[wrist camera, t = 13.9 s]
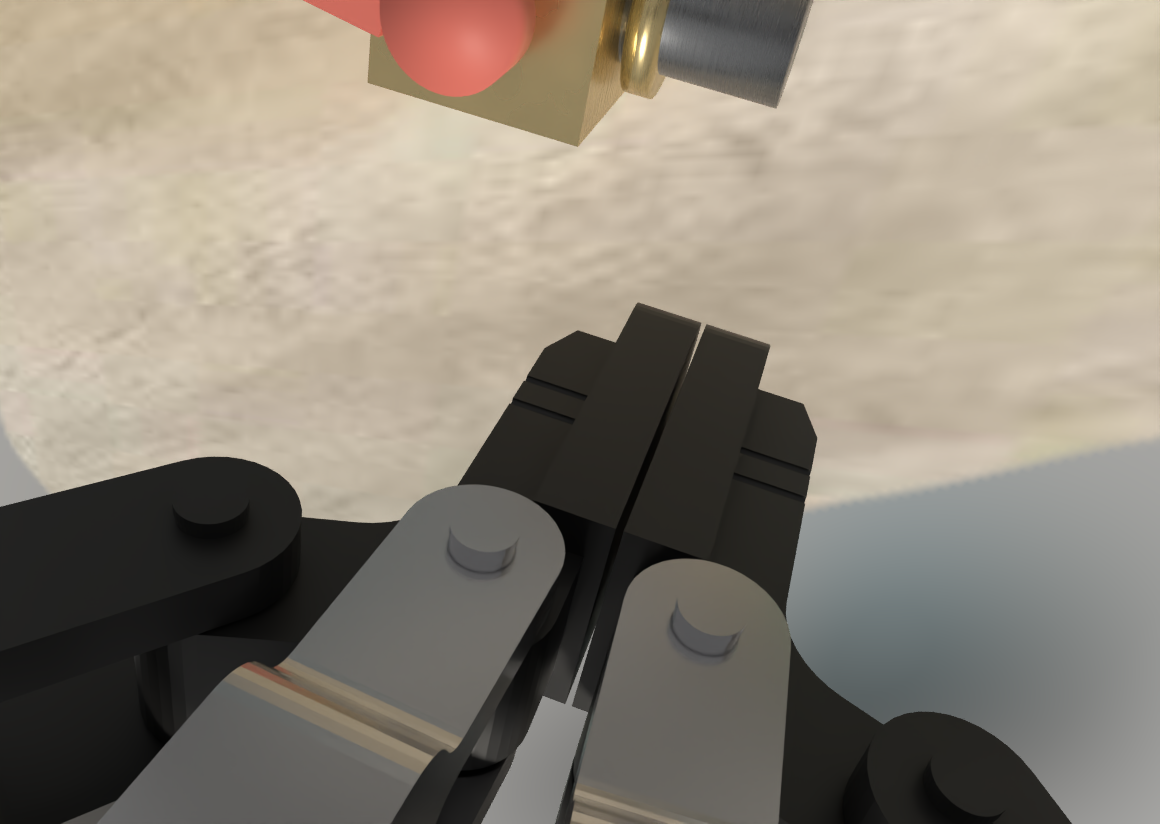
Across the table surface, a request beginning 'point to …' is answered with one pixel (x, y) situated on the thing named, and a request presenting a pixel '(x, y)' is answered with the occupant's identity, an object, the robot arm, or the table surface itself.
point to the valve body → (625, 59)
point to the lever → (446, 37)
